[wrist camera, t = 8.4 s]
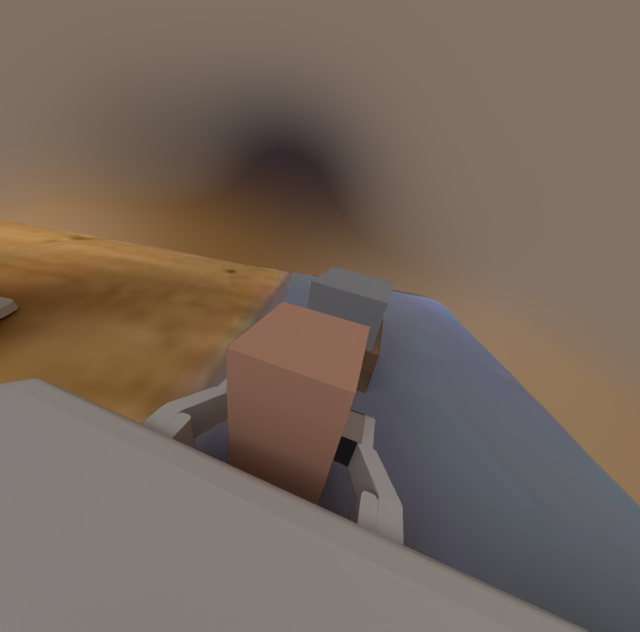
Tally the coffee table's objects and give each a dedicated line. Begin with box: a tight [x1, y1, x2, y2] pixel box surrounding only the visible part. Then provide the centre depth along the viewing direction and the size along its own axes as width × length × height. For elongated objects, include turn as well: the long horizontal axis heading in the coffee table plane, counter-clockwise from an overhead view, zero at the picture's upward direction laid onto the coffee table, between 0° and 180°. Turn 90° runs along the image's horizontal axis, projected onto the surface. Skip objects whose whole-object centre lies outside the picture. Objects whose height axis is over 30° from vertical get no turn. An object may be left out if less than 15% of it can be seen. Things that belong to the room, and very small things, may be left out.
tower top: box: [308, 266, 394, 351], centre depth 24 cm, size 7×7×5 cm
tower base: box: [357, 319, 383, 393], centre depth 26 cm, size 8×8×5 cm
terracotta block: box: [226, 301, 370, 505], centre depth 11 cm, size 4×4×10 cm
